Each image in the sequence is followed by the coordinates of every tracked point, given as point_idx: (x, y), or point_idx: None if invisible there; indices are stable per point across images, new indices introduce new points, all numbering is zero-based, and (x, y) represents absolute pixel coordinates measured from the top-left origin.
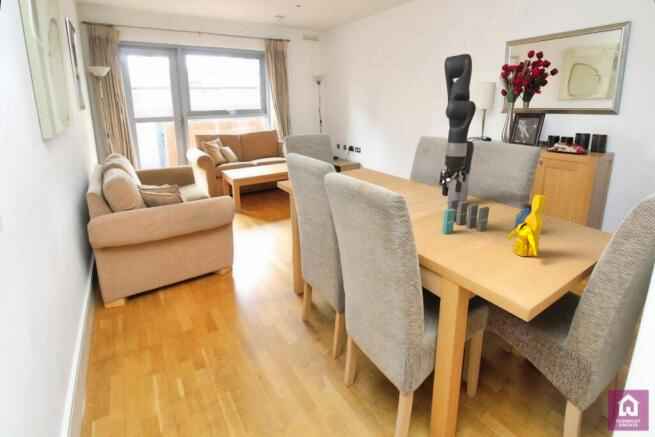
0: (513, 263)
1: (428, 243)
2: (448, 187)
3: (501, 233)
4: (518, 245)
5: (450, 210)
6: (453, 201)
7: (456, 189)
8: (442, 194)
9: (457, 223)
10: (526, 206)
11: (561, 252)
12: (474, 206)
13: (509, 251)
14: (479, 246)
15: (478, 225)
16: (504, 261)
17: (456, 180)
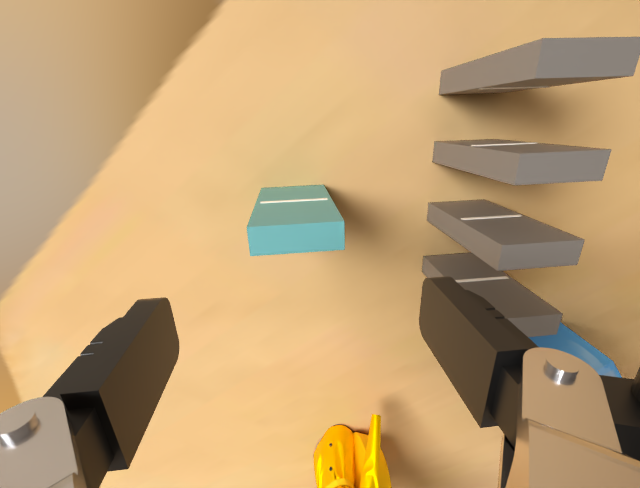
0: (252, 466)
1: (99, 239)
2: (125, 461)
3: None
4: (320, 476)
5: (291, 247)
6: (554, 78)
7: (437, 309)
8: (140, 302)
9: (436, 150)
10: None
11: (435, 476)
12: (523, 266)
13: (324, 421)
14: (276, 359)
15: (435, 275)
16: (241, 451)
17: (519, 420)
